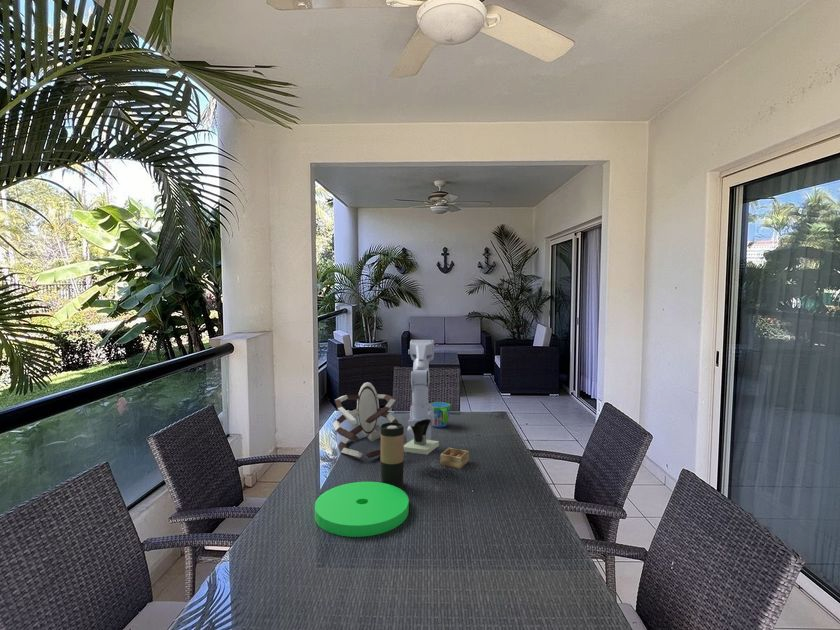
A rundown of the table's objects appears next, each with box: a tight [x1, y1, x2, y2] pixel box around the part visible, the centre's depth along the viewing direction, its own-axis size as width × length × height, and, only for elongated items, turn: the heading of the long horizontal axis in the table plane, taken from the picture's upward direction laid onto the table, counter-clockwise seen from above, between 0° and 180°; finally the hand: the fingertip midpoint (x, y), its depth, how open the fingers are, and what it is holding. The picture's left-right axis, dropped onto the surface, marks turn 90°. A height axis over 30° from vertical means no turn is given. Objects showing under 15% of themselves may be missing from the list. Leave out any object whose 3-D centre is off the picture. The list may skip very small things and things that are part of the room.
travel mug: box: [380, 422, 405, 489], centre depth 149 cm, size 8×8×20 cm
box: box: [439, 447, 469, 470], centre depth 168 cm, size 8×8×4 cm
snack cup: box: [430, 401, 452, 428], centre depth 214 cm, size 16×10×10 cm
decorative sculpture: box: [332, 381, 400, 459], centre depth 185 cm, size 24×27×35 cm
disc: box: [314, 481, 410, 538], centre depth 132 cm, size 27×27×3 cm
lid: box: [404, 435, 440, 455], centre depth 162 cm, size 10×10×5 cm
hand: (420, 440), depth 162 cm, fingers closed on lid
